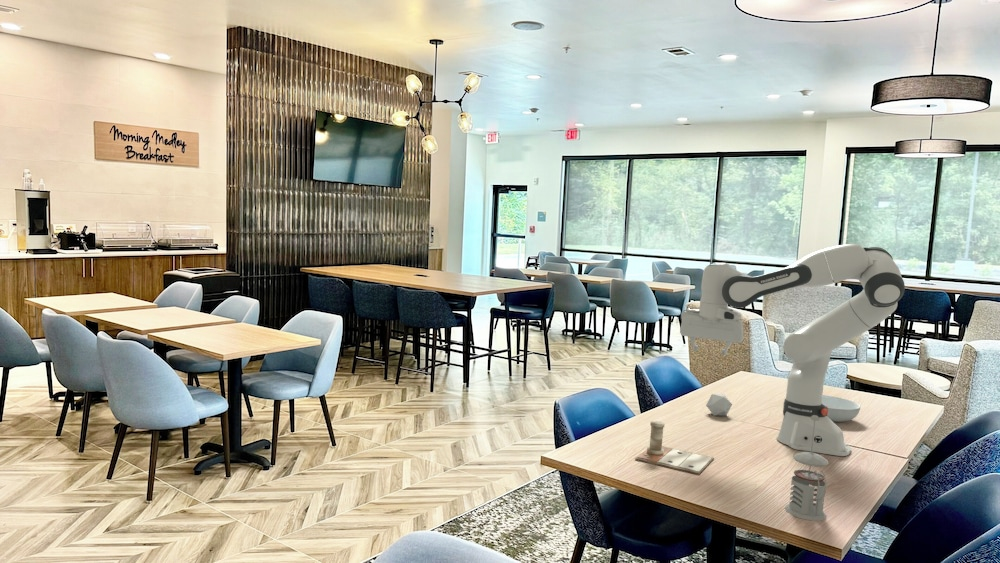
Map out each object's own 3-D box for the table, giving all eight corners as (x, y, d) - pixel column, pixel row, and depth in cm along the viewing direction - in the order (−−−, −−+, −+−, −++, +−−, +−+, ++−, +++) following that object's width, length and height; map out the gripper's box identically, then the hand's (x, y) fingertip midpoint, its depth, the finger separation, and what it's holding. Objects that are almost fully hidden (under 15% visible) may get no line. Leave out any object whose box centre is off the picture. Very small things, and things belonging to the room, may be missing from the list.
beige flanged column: (665, 452, 211) (668, 422, 210) (660, 456, 207) (663, 426, 206) (649, 448, 214) (652, 419, 213) (644, 453, 210) (646, 423, 209)
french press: (815, 505, 178) (824, 410, 176) (838, 524, 166) (849, 424, 164) (777, 503, 178) (787, 408, 176) (798, 522, 166) (808, 422, 164)
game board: (713, 459, 210) (714, 456, 210) (699, 474, 195) (699, 472, 195) (653, 445, 219) (653, 443, 219) (635, 459, 205) (635, 457, 205)
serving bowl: (789, 415, 267) (791, 398, 267) (813, 408, 281) (815, 392, 281) (845, 429, 252) (847, 411, 251) (867, 421, 266) (869, 404, 265)
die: (729, 421, 257) (738, 399, 260) (709, 408, 256) (720, 386, 260) (718, 422, 264) (727, 401, 268) (699, 410, 264) (709, 389, 267)
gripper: (679, 308, 230) (675, 349, 231) (742, 315, 219) (738, 358, 221) (684, 307, 235) (681, 347, 236) (746, 314, 225) (742, 355, 226)
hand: (709, 352), depth 228 cm, fingers open, 8 cm apart
